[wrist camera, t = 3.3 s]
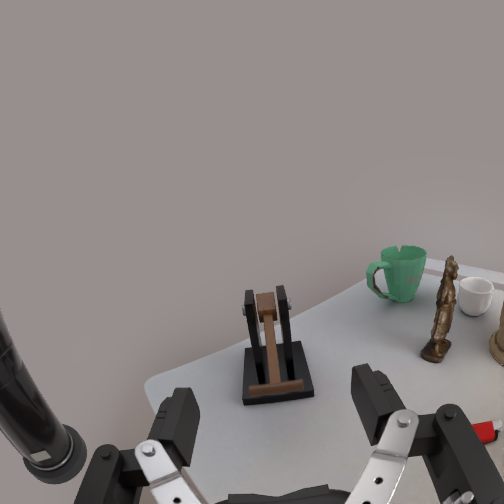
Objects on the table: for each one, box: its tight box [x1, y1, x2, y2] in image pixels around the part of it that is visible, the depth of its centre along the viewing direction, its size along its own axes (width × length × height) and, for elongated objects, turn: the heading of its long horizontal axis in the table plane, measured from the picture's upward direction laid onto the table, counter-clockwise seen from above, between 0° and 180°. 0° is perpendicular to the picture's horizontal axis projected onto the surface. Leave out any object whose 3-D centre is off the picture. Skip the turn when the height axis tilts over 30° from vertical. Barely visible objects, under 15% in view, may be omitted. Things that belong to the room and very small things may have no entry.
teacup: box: [458, 277, 494, 316], centre depth 38 cm, size 10×8×5 cm
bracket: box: [242, 285, 314, 406], centre depth 35 cm, size 12×9×13 cm
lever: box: [249, 292, 304, 397], centre depth 30 cm, size 13×6×2 cm, turn 0°
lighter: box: [472, 419, 502, 443], centre depth 16 cm, size 3×1×8 cm
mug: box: [366, 245, 427, 303], centre depth 49 cm, size 15×10×10 cm
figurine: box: [420, 256, 459, 363], centre depth 30 cm, size 7×4×15 cm, turn 123°
